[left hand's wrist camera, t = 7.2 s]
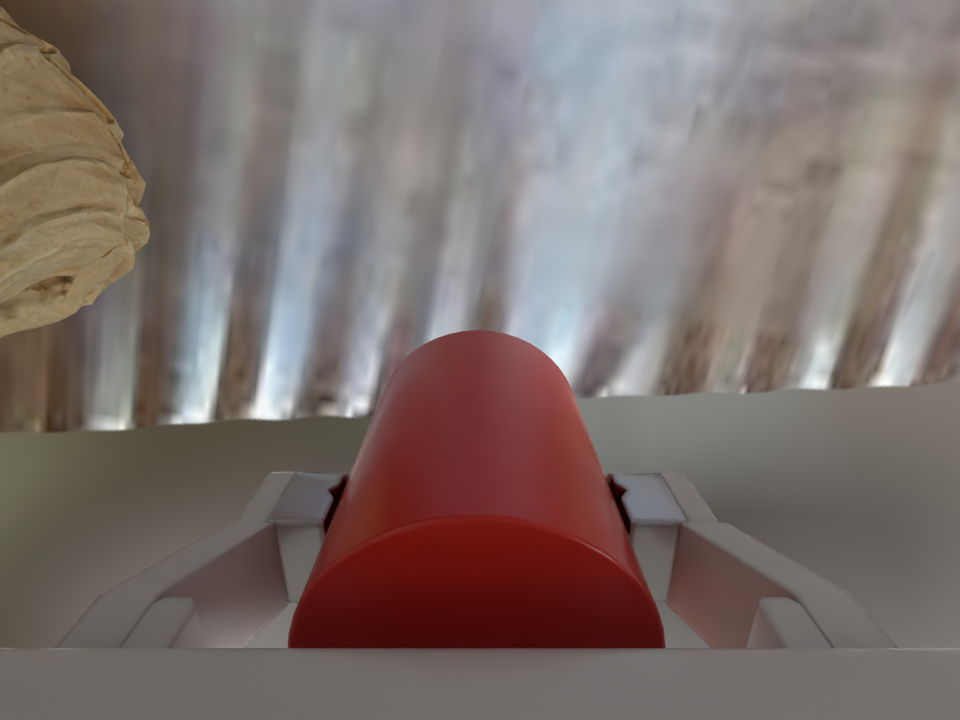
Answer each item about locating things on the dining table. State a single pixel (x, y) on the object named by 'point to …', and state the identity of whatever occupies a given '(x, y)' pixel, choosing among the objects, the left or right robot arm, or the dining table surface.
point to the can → (477, 517)
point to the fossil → (59, 188)
